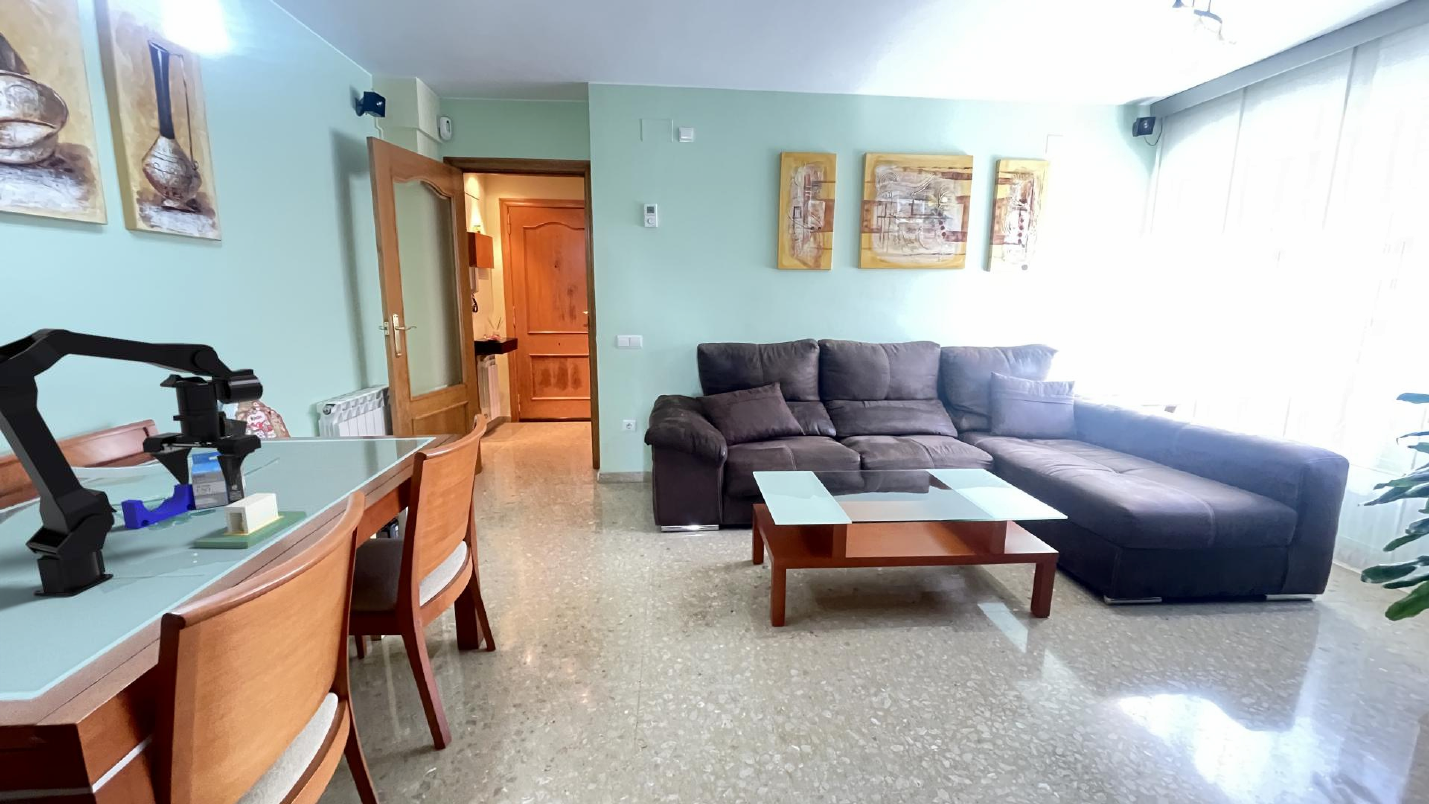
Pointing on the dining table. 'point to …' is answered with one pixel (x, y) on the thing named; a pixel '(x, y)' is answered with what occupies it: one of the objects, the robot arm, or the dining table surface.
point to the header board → (249, 539)
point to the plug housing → (251, 512)
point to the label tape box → (214, 482)
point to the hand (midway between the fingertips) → (208, 485)
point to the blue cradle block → (158, 508)
